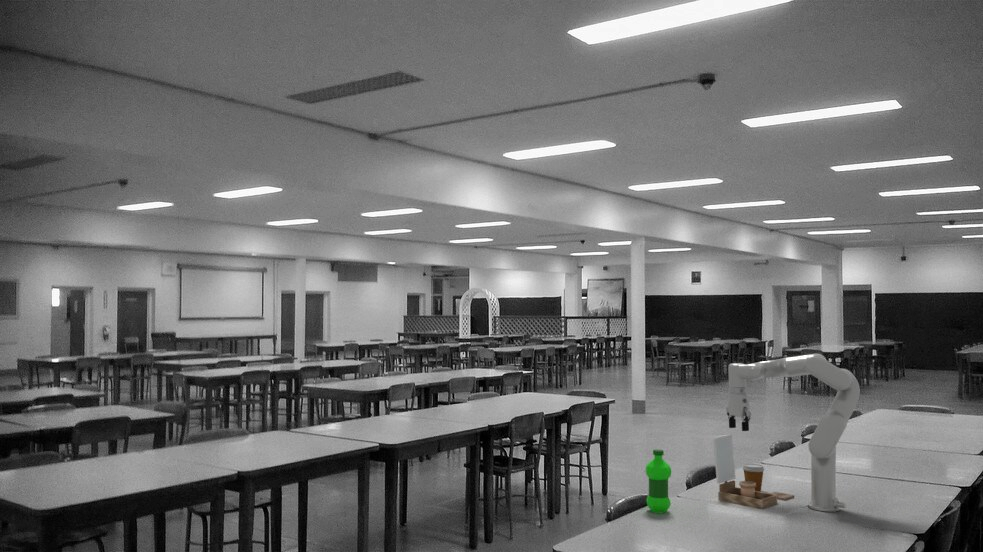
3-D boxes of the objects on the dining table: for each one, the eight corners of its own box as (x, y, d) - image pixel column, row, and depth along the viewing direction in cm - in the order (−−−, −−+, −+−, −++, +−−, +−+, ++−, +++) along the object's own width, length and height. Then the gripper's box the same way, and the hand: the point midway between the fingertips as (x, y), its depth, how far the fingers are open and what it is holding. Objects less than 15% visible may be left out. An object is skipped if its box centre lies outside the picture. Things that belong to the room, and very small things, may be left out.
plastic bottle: (669, 508, 312) (668, 448, 313) (672, 515, 302) (672, 453, 303) (644, 507, 313) (644, 447, 314) (647, 514, 303) (647, 452, 304)
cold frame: (777, 504, 320) (776, 457, 321) (761, 510, 310) (761, 461, 311) (729, 494, 336) (729, 450, 337) (713, 500, 327) (713, 454, 328)
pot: (758, 501, 322) (758, 482, 323) (751, 504, 318) (751, 485, 318) (744, 498, 327) (744, 480, 328) (736, 501, 323) (736, 482, 323)
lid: (731, 434, 337) (729, 434, 338) (714, 437, 327) (713, 437, 328) (735, 478, 335) (733, 478, 336) (718, 483, 325) (716, 483, 325)
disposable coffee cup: (766, 494, 337) (765, 468, 338) (744, 493, 339) (743, 467, 340) (762, 489, 346) (762, 463, 347) (741, 488, 348) (741, 462, 349)
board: (794, 498, 330) (794, 495, 330) (785, 502, 324) (785, 498, 324) (774, 494, 337) (774, 491, 337) (765, 498, 331) (765, 494, 331)
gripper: (756, 392, 327) (758, 431, 326) (733, 388, 344) (734, 426, 343) (742, 393, 325) (743, 432, 324) (719, 389, 342) (720, 427, 341)
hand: (738, 429), depth 333 cm, fingers open, 9 cm apart
